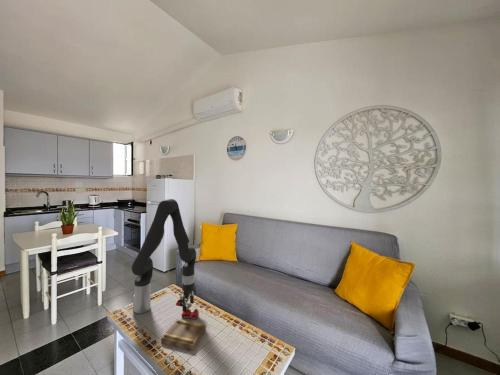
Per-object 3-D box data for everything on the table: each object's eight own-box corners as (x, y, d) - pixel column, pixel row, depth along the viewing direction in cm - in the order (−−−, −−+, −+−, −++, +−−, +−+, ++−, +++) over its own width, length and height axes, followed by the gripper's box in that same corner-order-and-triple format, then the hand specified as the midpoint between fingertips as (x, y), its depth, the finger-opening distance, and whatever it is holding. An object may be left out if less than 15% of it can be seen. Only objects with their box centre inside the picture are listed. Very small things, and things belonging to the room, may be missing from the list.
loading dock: (161, 343, 105) (161, 335, 105) (177, 324, 119) (177, 317, 119) (192, 351, 101) (192, 343, 101) (205, 331, 115) (205, 324, 115)
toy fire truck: (197, 319, 124) (197, 303, 124) (175, 317, 125) (175, 301, 125) (199, 316, 127) (199, 300, 127) (178, 314, 129) (178, 298, 128)
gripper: (189, 275, 133) (188, 299, 134) (176, 286, 120) (176, 313, 120) (199, 276, 132) (199, 301, 132) (187, 287, 118) (187, 315, 118)
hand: (188, 307), depth 126 cm, fingers open, 8 cm apart
